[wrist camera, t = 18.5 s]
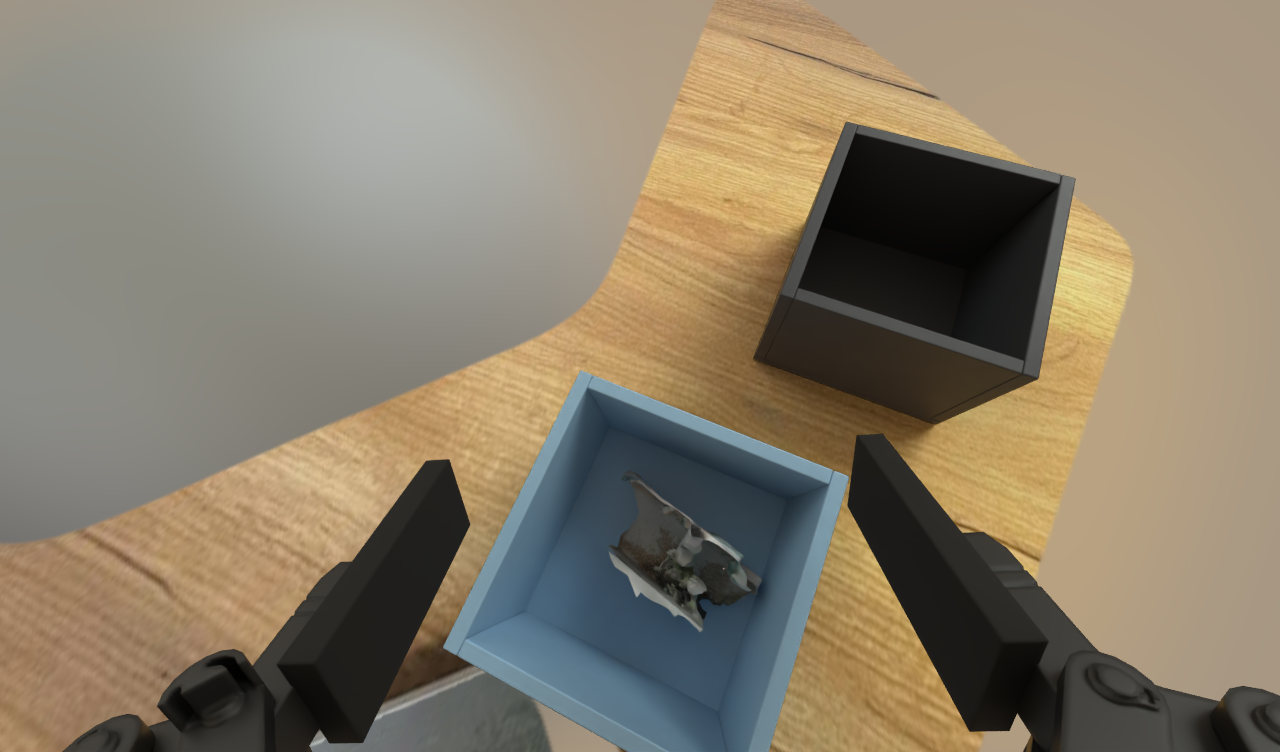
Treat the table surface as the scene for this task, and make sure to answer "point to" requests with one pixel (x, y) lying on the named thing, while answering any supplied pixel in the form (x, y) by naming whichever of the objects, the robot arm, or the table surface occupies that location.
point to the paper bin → (636, 626)
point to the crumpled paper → (679, 559)
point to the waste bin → (921, 275)
